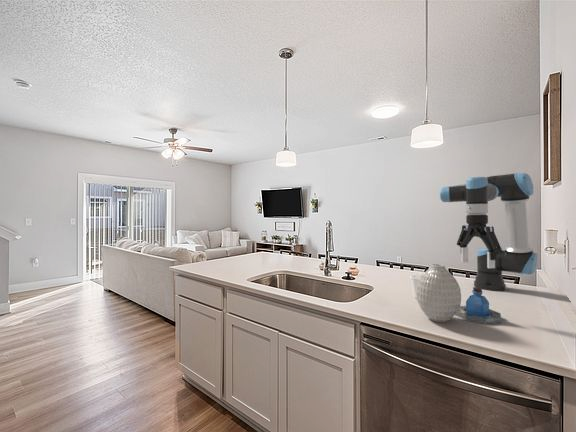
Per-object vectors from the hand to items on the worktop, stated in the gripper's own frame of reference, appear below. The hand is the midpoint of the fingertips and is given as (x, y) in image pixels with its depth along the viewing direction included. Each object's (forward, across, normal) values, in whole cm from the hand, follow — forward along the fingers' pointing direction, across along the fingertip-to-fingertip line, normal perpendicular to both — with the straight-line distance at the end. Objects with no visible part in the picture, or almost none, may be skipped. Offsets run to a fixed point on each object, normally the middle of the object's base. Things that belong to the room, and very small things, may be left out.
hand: (477, 265), depth 117 cm
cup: (+22, -27, -8) cm, 36 cm away
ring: (+22, 0, 0) cm, 22 cm away
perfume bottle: (+22, 0, 0) cm, 22 cm away
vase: (+22, 0, -18) cm, 28 cm away
